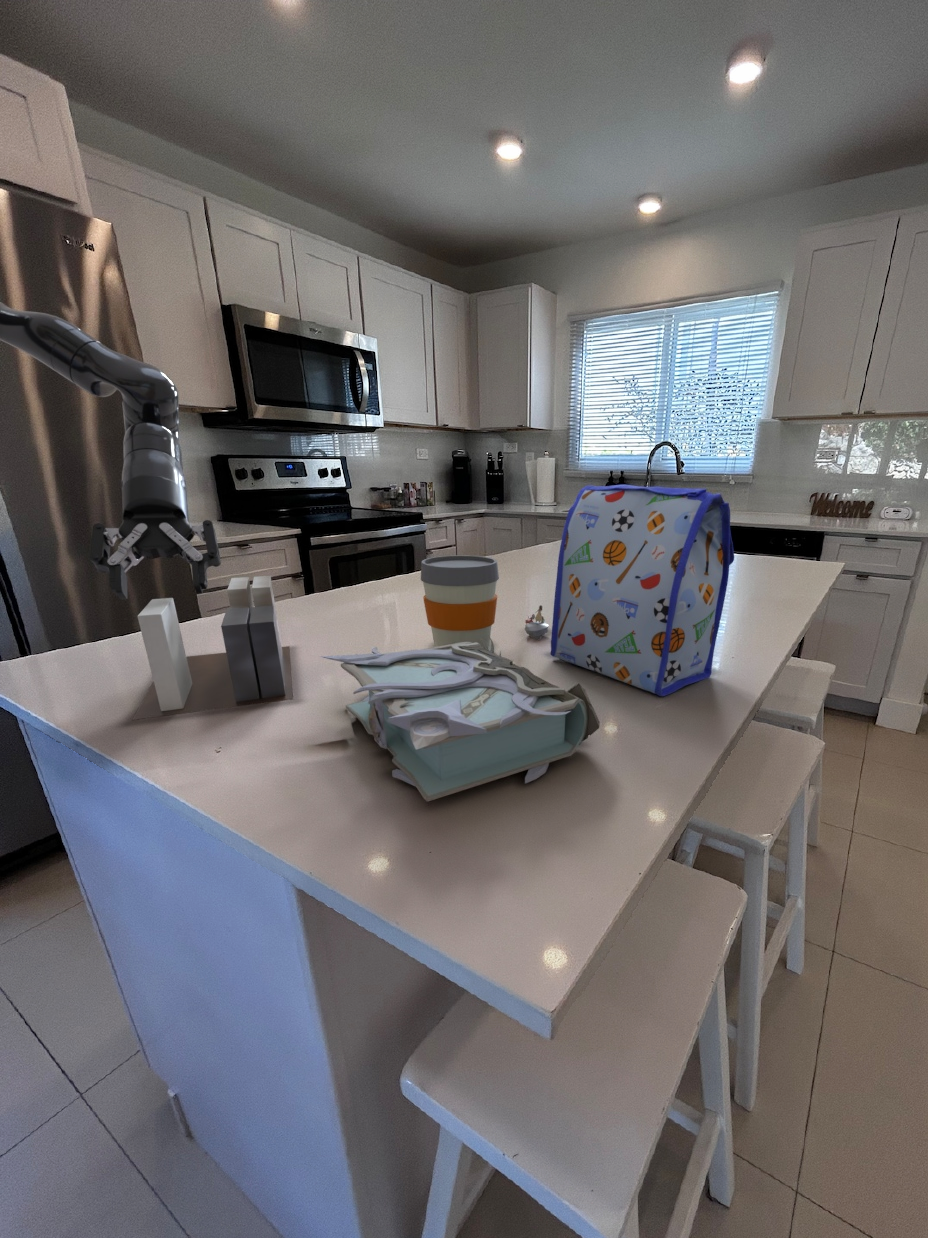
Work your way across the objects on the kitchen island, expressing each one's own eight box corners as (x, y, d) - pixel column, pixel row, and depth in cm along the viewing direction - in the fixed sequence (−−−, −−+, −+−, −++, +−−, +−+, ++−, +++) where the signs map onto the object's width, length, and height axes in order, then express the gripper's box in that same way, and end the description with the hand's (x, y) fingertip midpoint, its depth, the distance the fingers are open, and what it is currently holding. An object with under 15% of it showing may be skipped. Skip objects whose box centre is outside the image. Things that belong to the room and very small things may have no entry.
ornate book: (609, 769, 61) (475, 676, 84) (618, 687, 57) (474, 613, 80) (414, 838, 49) (320, 708, 72) (408, 742, 46) (311, 637, 69)
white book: (161, 711, 69) (137, 615, 64) (172, 686, 77) (151, 599, 72) (183, 708, 70) (161, 614, 65) (192, 683, 77) (173, 597, 73)
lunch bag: (726, 673, 86) (755, 486, 76) (666, 702, 75) (690, 490, 65) (607, 640, 101) (617, 482, 91) (543, 661, 91) (547, 484, 81)
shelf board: (134, 729, 67) (104, 621, 62) (167, 665, 88) (147, 581, 83) (295, 707, 73) (279, 607, 68) (290, 653, 94) (278, 573, 89)
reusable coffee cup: (409, 653, 94) (402, 562, 88) (456, 636, 104) (453, 552, 98) (468, 668, 87) (466, 570, 82) (513, 647, 97) (514, 559, 92)
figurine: (539, 642, 100) (540, 609, 98) (518, 638, 102) (518, 606, 100) (553, 635, 104) (554, 603, 102) (533, 631, 106) (533, 600, 104)
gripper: (218, 510, 83) (227, 604, 78) (104, 513, 78) (105, 613, 73) (207, 473, 77) (216, 572, 71) (82, 473, 72) (81, 580, 66)
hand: (160, 593), depth 72 cm, fingers open, 8 cm apart
